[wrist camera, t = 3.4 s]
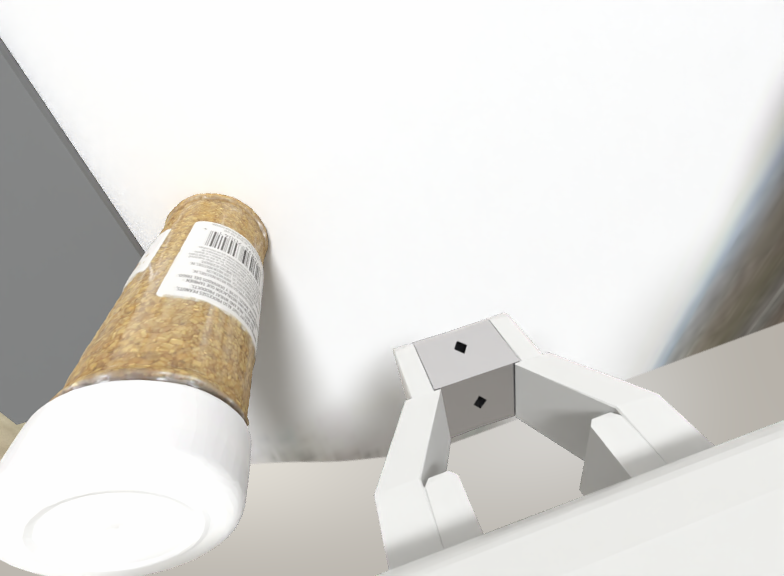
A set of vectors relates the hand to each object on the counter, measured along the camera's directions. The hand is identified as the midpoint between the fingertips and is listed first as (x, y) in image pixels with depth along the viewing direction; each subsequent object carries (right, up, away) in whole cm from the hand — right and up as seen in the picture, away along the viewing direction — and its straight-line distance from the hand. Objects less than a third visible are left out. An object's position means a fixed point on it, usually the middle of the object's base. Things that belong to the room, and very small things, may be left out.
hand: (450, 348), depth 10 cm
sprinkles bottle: (-10, +4, +9) cm, 14 cm away
